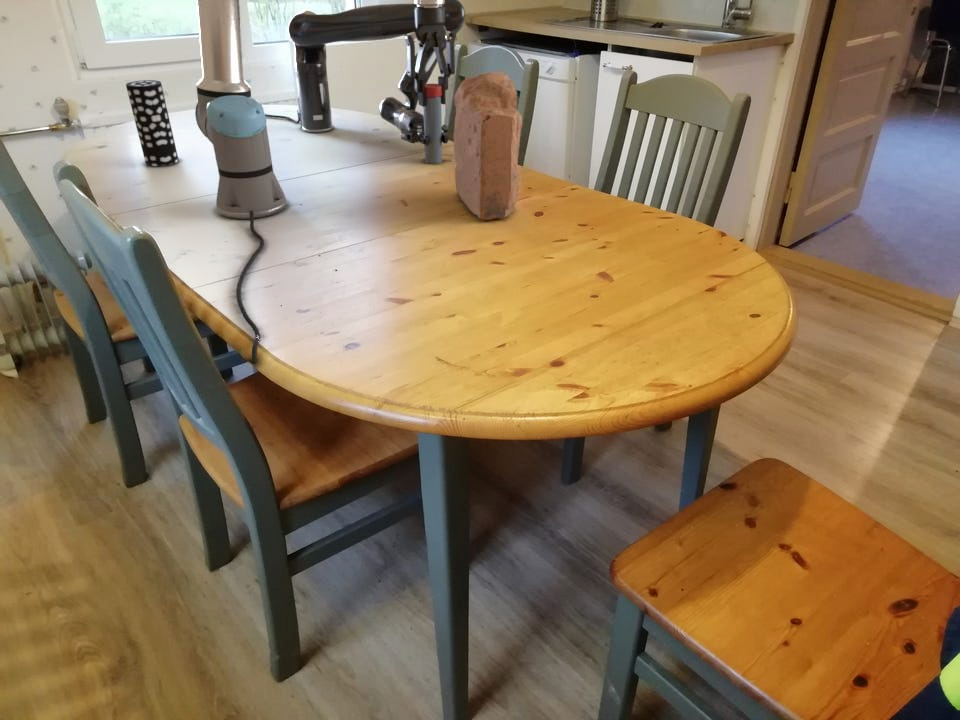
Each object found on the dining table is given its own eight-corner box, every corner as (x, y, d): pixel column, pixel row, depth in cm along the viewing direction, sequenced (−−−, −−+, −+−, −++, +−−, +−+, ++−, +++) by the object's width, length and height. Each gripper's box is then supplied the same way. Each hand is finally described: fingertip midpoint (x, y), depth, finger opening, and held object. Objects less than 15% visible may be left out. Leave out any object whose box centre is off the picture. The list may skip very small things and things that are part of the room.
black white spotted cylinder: (184, 157, 190) (167, 80, 179) (169, 166, 183) (151, 87, 172) (155, 156, 190) (136, 79, 179) (139, 165, 183) (119, 86, 172)
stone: (529, 217, 153) (533, 83, 139) (481, 223, 150) (480, 86, 136) (496, 190, 171) (497, 69, 157) (453, 195, 168) (450, 71, 154)
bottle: (445, 161, 190) (444, 87, 180) (434, 165, 187) (432, 90, 177) (432, 157, 193) (430, 84, 182) (421, 161, 189) (418, 87, 179)
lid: (446, 95, 181) (446, 85, 180) (433, 98, 177) (432, 88, 176) (430, 92, 184) (430, 82, 182) (417, 95, 180) (417, 85, 179)
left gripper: (401, 8, 163) (406, 110, 175) (469, 5, 170) (469, 103, 183) (389, 5, 168) (394, 104, 181) (455, 2, 176) (456, 98, 188)
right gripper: (390, 114, 193) (410, 129, 180) (437, 110, 198) (461, 123, 185) (391, 141, 197) (412, 157, 184) (438, 136, 202) (461, 151, 189)
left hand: (432, 104), depth 182 cm, fingers closed on lid, 5 cm apart
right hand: (436, 140), depth 184 cm, fingers closed on bottle, 5 cm apart
